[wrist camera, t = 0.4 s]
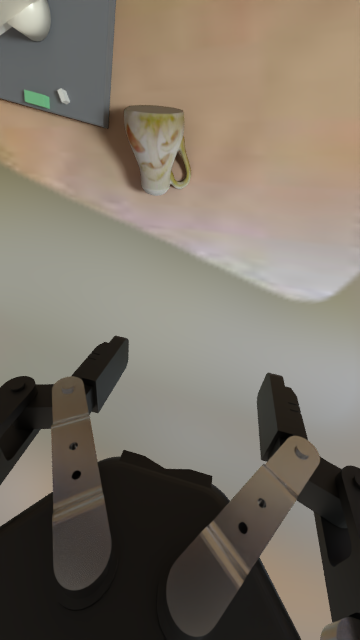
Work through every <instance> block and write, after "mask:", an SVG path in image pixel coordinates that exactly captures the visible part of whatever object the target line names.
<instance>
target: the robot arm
mask: <svg viewBox="0 0 360 640" xmlns="http://www.w3.org/2000/svg"><path fill="white" fill-rule="evenodd" d="M128 343H129V341H128V339H127V338H123V337H119V336H114V337H113V339H112V340H111V341H110V342H109V343H107V342H104V343H102V344H100V345H98V346H97V347H96V348H95V349H94V350H93V351H92V353H91V354H90V355H89V356H88V358H86V360H85V361H84V362H83V363H82V364H81V365H80V367H79V368H78V369H77V370H76V371H75V372H74V374H73V375H72V376H71V377H65V378H62V379H60V380H58V381H57V382H56V383H55V384H49V385H36V384H35V381H34V379H32V378H31V377H27V376H20V377H16V378H13V379H11V380H9V381H7V382H6V383H5V384H4V385H3V386H1V387H0V485H1V483H2V482H3V481H4V479H5V478H6V476H7V475H8V474H9V472H10V471H11V470H12V468H13V467H14V465H15V464H16V462H17V461H18V460H19V458H20V457H21V456H22V454H23V453H24V452H25V450H26V449H27V447H28V446H29V445H30V443H31V442H32V440H33V439H34V438H35V436H36V435H37V434H38V432H39V430H40V429H51V436H52V474H53V492H52V493H50V494H48V495H47V496H45V497H44V498H43V499H41V500H39V501H38V502H36V503H35V504H34V505H32V506H30V507H29V508H28V509H26V510H24V511H23V512H21V513H20V514H19V515H17V516H15V517H14V518H12V519H11V520H9V521H8V522H7V523H5V524H3V525H2V526H0V640H301V638H300V636H299V634H298V632H297V630H296V628H295V626H294V624H293V622H292V620H291V619H290V617H289V615H288V612H287V611H286V609H285V607H284V605H283V603H282V601H281V599H280V597H279V595H278V593H277V591H276V589H275V587H274V585H273V583H272V581H271V579H270V577H269V575H268V573H267V571H266V569H265V567H264V565H263V563H262V561H261V559H260V558H259V557H260V555H261V553H262V552H263V550H264V549H265V547H266V546H267V544H268V543H269V541H270V540H271V538H272V537H273V535H274V534H275V532H276V530H277V529H278V527H279V526H280V525H281V523H282V521H283V520H284V518H285V517H286V515H287V514H288V512H289V511H290V509H291V508H292V506H293V505H294V503H295V502H296V500H297V501H299V502H300V503H302V504H303V505H305V506H306V507H308V508H309V509H311V510H313V511H314V516H315V522H316V528H317V534H318V539H319V546H320V552H321V557H322V563H323V570H324V576H325V582H326V587H327V593H328V599H329V605H330V611H331V617H332V623H331V624H328V625H327V626H326V627H324V629H323V631H322V633H321V637H320V640H360V468H357V467H355V466H346V467H344V468H343V469H340V468H338V467H337V466H335V465H333V464H331V463H329V462H327V461H326V460H324V459H323V458H321V457H320V456H319V453H318V451H317V449H316V448H315V447H314V446H313V444H311V443H310V442H309V441H308V439H307V435H306V431H305V427H304V423H303V419H302V415H301V414H300V412H301V411H300V408H299V404H298V400H297V396H296V395H295V393H294V392H293V390H292V389H291V388H289V387H285V385H284V380H283V377H282V376H280V375H276V374H271V373H267V374H266V376H265V379H264V381H263V383H262V386H261V388H260V390H259V393H258V397H257V409H258V424H259V436H260V450H261V460H263V461H267V463H266V464H263V465H262V466H261V467H260V468H259V469H258V470H257V471H256V473H255V474H254V475H253V476H252V477H251V478H250V479H249V481H248V482H247V483H246V484H245V485H244V486H243V487H242V488H241V490H240V491H239V492H238V493H237V494H236V495H235V496H234V497H233V499H232V500H231V501H230V500H229V499H228V498H227V497H226V496H225V494H224V493H223V492H221V490H219V489H218V488H217V487H216V486H214V485H213V484H212V476H210V475H207V474H204V473H200V472H197V471H193V470H190V469H165V468H163V467H161V466H160V465H158V464H157V463H155V462H153V461H152V460H150V459H149V458H147V457H145V456H143V455H140V454H136V453H133V452H129V451H126V450H123V453H122V455H121V457H111V458H107V459H104V460H102V461H99V462H97V456H96V451H95V444H94V439H93V433H92V427H91V421H90V416H89V415H90V413H91V411H92V412H96V413H99V411H100V410H101V408H102V406H103V405H104V403H105V401H106V400H107V398H108V396H109V395H110V393H111V392H112V390H113V388H114V387H115V385H116V383H117V382H118V380H119V378H120V377H121V375H122V373H123V372H124V370H125V368H126V366H127V363H128V345H129V344H128Z"/></svg>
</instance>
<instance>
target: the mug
mask: <svg viewBox="0 0 360 640" xmlns="http://www.w3.org/2000/svg"><path fill="white" fill-rule="evenodd" d="M124 126H125V131H126V134H127V137H128V140H129V143H130V145H131V148H132V150H133V152H134V155H135V157H136V160H137V162H138V165H139V168H140V173H141V186H142V188H143V189H144V190H145V192H147V193H148V194H151V195H156V196H158V195H163V194H164V193H166V192H167V190H168V189H169V187H170V184H171V185H173V186H174V187H175V188H177V189H182V188H184V187H186V186H187V185H188V183H189V181H190V178H191V169H190V165H189V161H188V158H187V154H186V150H185V141H184V136H183V133H184V112H183V110H180V109H176V108H171V107H163V106H151V105H137V106H129V107H127V108H126V109H125V110H124ZM177 151H179V152H180V154H181V157H182V159H183V162H184V165H185V169H186V178H185V179H184V180H183V181H182V182H177V181H176V180H175V179H174V175H173V173H172V171H171V168H172V165H173V162H174V160H175V157H176V154H177Z"/></svg>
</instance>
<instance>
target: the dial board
mask: <svg viewBox="0 0 360 640" xmlns="http://www.w3.org/2000/svg"><path fill="white" fill-rule="evenodd" d="M47 2H48V5H49V9H50V14H51V25H50V30H49V33H48V35H47V36H46V38H45V39H44V40H42V41H38V42H37V41H33V40H31V39H29V38H28V37H26V36H25V35H24V34H22V33H21V32H19V31H18V30H16V29H15V28H13V27H11V28H10V29H8V30H7V31H6V32H4V33H3V34H2V35H0V99H3V100H7V101H10V102H14V103H17V104H21V105H25V106H28V107H32V108H35V109H39V110H43V111H46V112H50V113H53V114H57V115H61V116H64V117H68V118H71V119H75V120H79V121H82V122H86V123H89V124H93V125H97V126H100V127H104V128H107V129H108V122H109V106H110V89H111V73H112V56H113V40H114V24H115V7H116V0H47Z"/></svg>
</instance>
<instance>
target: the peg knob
mask: <svg viewBox="0 0 360 640" xmlns="http://www.w3.org/2000/svg"><path fill="white" fill-rule="evenodd" d="M50 25H51V14H50V9H49V5H48V2H47V0H0V35H2V34H3V33H4V32H6V31H7V30H8V29H10V28H11V27H13V28H15V29H16V30H18V31H19V32H21V33H22V34H24V35H25V36H26V37H28V38H29V39H31V40H33V41H37V42H38V41H42V40H44V39H45V38H46V36H47V35H48V33H49V30H50Z"/></svg>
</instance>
